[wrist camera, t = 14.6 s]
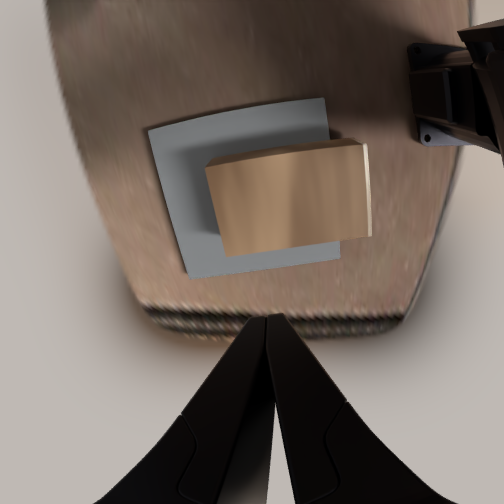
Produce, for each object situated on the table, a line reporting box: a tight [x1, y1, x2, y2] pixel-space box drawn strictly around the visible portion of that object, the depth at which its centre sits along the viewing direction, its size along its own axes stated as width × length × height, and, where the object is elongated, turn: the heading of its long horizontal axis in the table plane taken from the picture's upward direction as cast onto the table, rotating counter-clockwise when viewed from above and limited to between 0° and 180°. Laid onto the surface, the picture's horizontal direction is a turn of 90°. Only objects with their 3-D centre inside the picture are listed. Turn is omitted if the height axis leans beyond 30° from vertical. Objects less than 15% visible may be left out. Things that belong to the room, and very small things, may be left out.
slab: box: [205, 138, 372, 257], centre depth 17 cm, size 2×5×8 cm
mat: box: [148, 98, 340, 279], centre depth 18 cm, size 10×10×1 cm
